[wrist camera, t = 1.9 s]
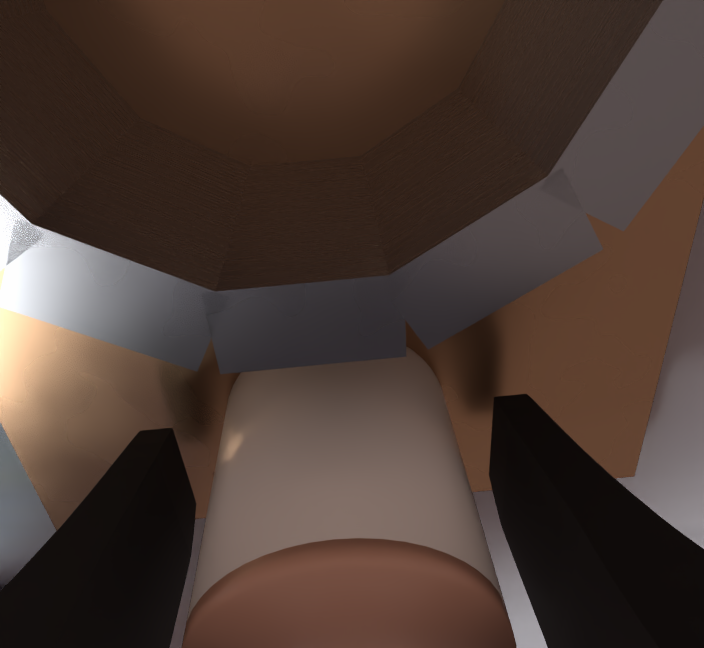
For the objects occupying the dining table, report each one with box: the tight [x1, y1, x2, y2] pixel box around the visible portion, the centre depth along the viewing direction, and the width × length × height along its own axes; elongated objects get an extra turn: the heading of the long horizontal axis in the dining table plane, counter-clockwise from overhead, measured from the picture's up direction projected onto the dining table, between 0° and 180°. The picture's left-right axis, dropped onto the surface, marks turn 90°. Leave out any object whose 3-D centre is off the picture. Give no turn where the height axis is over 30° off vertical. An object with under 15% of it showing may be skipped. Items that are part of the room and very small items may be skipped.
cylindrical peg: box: [182, 346, 516, 648], centre depth 10 cm, size 4×4×5 cm
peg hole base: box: [0, 0, 704, 530], centre depth 8 cm, size 15×13×5 cm
